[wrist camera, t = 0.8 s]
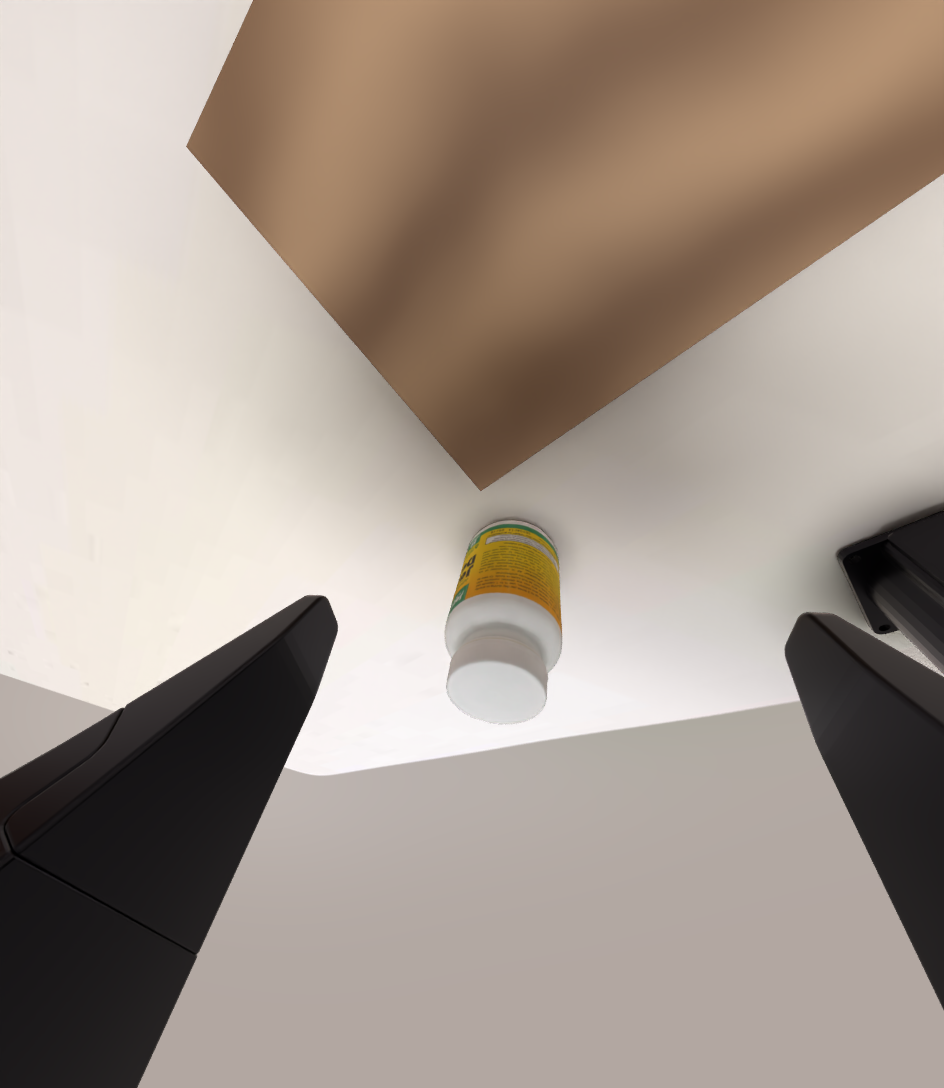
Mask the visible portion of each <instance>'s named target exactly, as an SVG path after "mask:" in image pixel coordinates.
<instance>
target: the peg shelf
mask: <svg viewBox="0 0 944 1088" xmlns="http://www.w3.org/2000/svg"><path fill="white" fill-rule="evenodd" d="M186 147H187V148H188V149H189V150H190V152H191V153H192V154H193V155H194V156H195V157H196V159H197V160H198V161H199V162H200V163H201V164H202V166H203V167H204V168H205V169H206V170H207V171H208V173H209V174H210V175H211V176H212V177H213V178H214V180H215V181H216V182H217V183H218V184H219V185H220V187H221V188H222V189H223V190H224V191H225V193H226V194H227V195H228V196H229V197H230V198H231V200H232V201H233V202H234V203H235V204H236V205H237V207H238V208H239V209H240V210H241V211H242V212H243V214H244V215H245V216H246V217H247V218H248V219H249V221H250V222H251V223H252V224H253V225H254V226H255V228H256V229H257V230H258V231H259V232H260V233H261V235H262V236H263V237H264V238H265V239H266V240H267V242H268V243H269V244H270V245H271V246H272V248H273V249H274V250H275V251H276V252H277V253H278V255H279V256H280V257H281V258H282V259H283V260H284V262H285V263H286V264H287V265H288V266H289V267H290V269H291V270H292V271H293V272H294V273H295V274H296V276H297V277H298V278H299V279H300V280H301V281H302V283H303V284H304V285H305V286H306V287H307V288H308V290H309V291H310V292H311V293H312V294H313V295H314V297H315V298H316V299H317V300H318V301H319V303H320V304H321V305H322V306H323V307H324V308H325V310H326V311H327V312H328V313H329V314H330V315H331V317H332V318H333V319H334V320H335V321H336V322H337V324H338V325H339V326H340V327H341V328H342V329H343V331H344V332H345V333H346V334H347V335H348V336H349V338H350V339H351V340H352V341H353V342H354V343H355V345H356V346H357V347H358V348H359V349H360V350H361V352H362V353H363V354H364V355H365V356H366V357H367V359H368V360H369V361H370V362H371V363H372V365H373V366H374V367H375V368H376V369H377V370H378V372H379V373H380V374H381V375H382V376H383V377H384V379H385V380H386V381H387V382H388V383H389V384H390V386H391V387H392V388H393V389H394V390H395V391H396V393H397V394H398V395H399V396H400V397H401V398H402V400H403V401H404V402H405V403H406V404H407V405H408V407H409V408H410V409H411V410H412V411H413V412H414V414H415V415H416V416H417V417H418V418H419V420H420V421H421V422H422V423H423V424H424V425H425V427H426V428H427V429H428V430H429V431H430V432H431V434H432V435H433V436H434V437H435V438H436V439H437V441H438V442H439V443H440V444H441V445H442V446H443V448H444V449H445V450H446V451H447V452H448V453H449V455H450V456H451V457H452V458H453V459H454V460H455V462H456V463H457V464H458V465H459V466H460V467H461V469H462V470H463V471H464V472H465V473H466V475H467V476H468V477H469V478H470V479H471V480H472V482H473V483H474V484H475V485H476V486H477V487H478V489H479V490H480V491H482V490H483V489H485V488H486V487H488V486H489V485H490V484H492V483H493V482H495V481H496V480H498V479H499V478H501V477H502V476H504V475H505V474H507V473H508V472H509V471H511V470H512V469H514V468H515V467H517V466H518V465H520V464H521V463H523V462H524V461H525V460H527V459H528V458H530V457H531V456H533V455H534V454H536V453H537V452H539V451H540V450H541V449H543V448H544V447H546V446H547V445H549V444H550V443H552V442H553V441H555V440H556V439H557V438H559V437H560V436H562V435H563V434H565V433H566V432H568V431H569V430H571V429H572V428H574V427H575V426H576V425H578V424H579V423H581V422H582V421H584V420H585V419H587V418H588V417H590V416H591V415H592V414H594V413H595V412H597V411H598V410H600V409H601V408H603V407H604V406H606V405H607V404H608V403H610V402H611V401H613V400H614V399H616V398H617V397H619V396H620V395H622V394H623V393H625V392H626V391H627V390H629V389H630V388H632V387H633V386H635V385H636V384H638V383H639V382H641V381H642V380H643V379H645V378H646V377H648V376H649V375H651V374H652V373H654V372H655V371H657V370H658V369H659V368H661V367H662V366H664V365H665V364H667V363H668V362H670V361H671V360H673V359H674V358H676V357H677V356H678V355H680V354H681V353H683V352H684V351H686V350H687V349H689V348H690V347H692V346H693V345H694V344H696V343H697V342H699V341H700V340H702V339H703V338H705V337H706V336H708V335H709V334H710V333H712V332H713V331H715V330H716V329H718V328H719V327H721V326H722V325H724V324H725V323H727V322H728V321H729V320H731V319H732V318H734V317H735V316H737V315H738V314H740V313H741V312H743V311H744V310H745V309H747V308H748V307H750V306H751V305H753V304H754V303H756V302H757V301H759V300H760V299H761V298H763V297H764V296H766V295H767V294H769V293H770V292H772V291H773V290H775V289H776V288H778V287H779V286H780V285H782V284H783V283H785V282H786V281H788V280H789V279H791V278H792V277H794V276H795V275H796V274H798V273H799V272H801V271H802V270H804V269H805V268H807V267H808V266H810V265H811V264H812V263H814V262H815V261H817V260H818V259H820V258H821V257H823V256H824V255H826V254H827V253H829V252H830V251H831V250H833V249H834V248H836V247H837V246H839V245H840V244H842V243H843V242H845V241H846V240H847V239H849V238H850V237H852V236H853V235H855V234H856V233H858V232H859V231H861V230H862V229H863V228H865V227H866V226H868V225H869V224H871V223H872V222H874V221H875V220H877V219H878V218H880V217H881V216H882V215H884V214H885V213H887V212H888V211H890V210H891V209H893V208H894V207H896V206H897V205H898V204H900V203H901V202H903V201H904V200H906V199H907V198H909V197H910V196H912V195H913V194H914V193H916V192H917V191H919V190H920V189H922V188H923V187H925V186H926V185H928V184H929V183H931V182H932V181H933V180H935V179H936V178H938V177H939V176H941V175H942V174H944V0H253V2H252V4H251V6H250V9H249V11H248V13H247V15H246V17H245V19H244V22H243V24H242V26H241V28H240V30H239V33H238V35H237V37H236V39H235V41H234V43H233V46H232V48H231V50H230V52H229V54H228V57H227V59H226V61H225V63H224V65H223V67H222V70H221V72H220V74H219V76H218V78H217V81H216V83H215V85H214V87H213V89H212V91H211V94H210V96H209V98H208V100H207V102H206V105H205V107H204V109H203V111H202V113H201V115H200V118H199V120H198V122H197V124H196V126H195V129H194V131H193V133H192V135H191V137H190V139H189V142H188V144H187V146H186Z"/></svg>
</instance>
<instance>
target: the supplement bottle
mask: <svg viewBox="0 0 944 1088" xmlns="http://www.w3.org/2000/svg"><path fill="white" fill-rule="evenodd" d="M445 644H446V647H447V650H448V652H449V654H450V656H451V658H452V659H451V662H450V668H449V673H448V678H447V685H446V688H447V693H448V696H449V698H450V700H451V701H452V703H453V704H454V705H455V706H456V707H457V708H458V709H459V710H461V711H462V712H463V713H465V714H467V715H469V716H470V717H472V718H475V719H478V720H481V721H485V722H488V723H494V724H515V723H521V722H525V721H528V720H530V719H532V718H534V717H535V716H536V715H538V714H539V713H540V712H541V711H542V709H543V708H544V706H545V703H546V699H547V681H548V673H549V672H550V671H551V670H552V668H553V667H554V666H555V664H556V663H557V661H558V659H559V657H560V654H561V649H562V624H561V605H560V581H559V560H558V554H557V550H556V548H555V546H554V544H553V542H552V541H551V540H550V538H549V537H548V536H547V535H546V534H545V533H544V532H543V531H542V530H540V529H539V528H537V527H536V526H533V525H531V524H529V523H526V522H522V521H515V520H506V521H500V522H495V523H493V524H490V525H488V526H487V527H485V528H483V529H482V530H481V531H479V532H478V533H477V534H476V535H475V536H474V537H473V539H472V540H471V542H470V544H469V547H468V550H467V553H466V557H465V560H464V564H463V567H462V571H461V574H460V578H459V581H458V584H457V588H456V591H455V594H454V598H453V601H452V605H451V608H450V611H449V615H448V618H447V622H446V626H445Z"/></svg>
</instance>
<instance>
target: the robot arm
mask: <svg viewBox="0 0 944 1088" xmlns="http://www.w3.org/2000/svg"><path fill="white" fill-rule="evenodd" d="M852 556H854V557H853V558H851V557H852ZM850 558H851V559H850ZM838 561H839V563H840V565H841V567H842V569H843V572H844V574H845V576H846V578H847V580H848V582H849V585H850V587H851V589H852V591H853V593H854V595H855V598H856V600H857V602H858V604H859V606H860V608H861V610H862V613H863V615H864V617H865V619H866V621H867V623H868V626H869V627H870V628H871V629H872V630H873V631H874V632H875V633H877V634H887V633H890V632H894V631H897V630H900V631H901V632H902V633H903V634H904V635H905V636H906V637H907V638H908V639H909V640H910V641H911V642H912V643H913V644H914V645H915V646H916V647H917V648H918V649H919V650H920V651H921V652H922V653H923V654H924V655H925V656H926V657H927V658H928V659H929V660H930V661H931V662H932V663H933V664H934V665H935V666H936V667H937V668H938V669H939V670H940V671H941V672H942V673H943V674H944V511H942V512H939V513H937V514H934V515H931V516H929V517H926V518H924V519H921V520H918V521H916V522H913V523H911V524H908V525H905V526H903V527H900V528H898V529H895V530H893V531H890V532H887V533H885V534H882V535H880V536H877V537H874V538H872V539H869V540H867V541H864V542H861V543H859V544H856V545H854V546H851V547H848V548H846V549H844V550H842V551H841V552H840V553H839V555H838ZM337 631H338V624H337V620H336V618H335V615H334V613H333V610H332V608H331V605H330V603H329V600H328V599H327V598H326V597H325V596H322V595H307V596H304V597H303V598H301V599H299V600H298V601H296V602H294V603H293V604H291V605H289V606H288V607H286V608H285V609H283V610H281V611H280V612H278V613H276V614H275V615H273V616H271V617H270V618H268V619H266V620H265V621H263V622H262V623H260V624H258V625H257V626H255V627H253V628H252V629H250V630H248V631H247V632H245V633H243V634H242V635H240V636H239V637H237V638H235V639H234V640H232V641H230V642H229V643H227V644H225V645H224V646H222V647H221V648H219V649H217V650H216V651H214V652H212V653H211V654H209V655H207V656H206V657H204V658H202V659H201V660H199V661H198V662H196V663H194V664H193V665H191V666H189V667H188V668H186V669H184V670H183V671H181V672H179V673H178V674H176V675H175V676H173V677H171V678H170V679H168V680H166V681H165V682H163V683H161V684H160V685H158V686H157V687H155V688H153V689H152V690H150V691H148V692H147V693H145V694H143V695H142V696H140V697H138V698H137V699H135V700H134V701H132V702H130V703H129V704H127V705H126V707H125V708H120V709H119V710H117V711H115V712H114V713H112V714H110V715H109V716H107V717H106V718H104V719H102V720H101V721H99V722H98V723H96V724H94V725H92V726H91V727H89V728H87V729H86V730H84V731H82V732H81V733H79V734H77V735H76V736H74V737H72V738H70V739H69V740H67V741H66V742H64V743H62V744H60V745H59V746H57V747H55V748H53V749H51V750H50V751H48V752H46V753H44V754H43V755H41V756H39V757H37V758H35V759H34V760H32V761H30V762H28V763H27V764H25V765H23V766H21V767H19V768H18V769H16V770H14V771H13V772H11V773H9V774H7V775H5V776H3V777H2V778H0V1088H137V1087H138V1085H139V1083H140V1081H141V1078H142V1076H143V1074H144V1072H145V1070H146V1067H147V1065H148V1063H149V1061H150V1059H151V1057H152V1054H153V1052H154V1050H155V1048H156V1046H157V1043H158V1041H159V1039H160V1037H161V1035H162V1033H163V1030H164V1028H165V1026H166V1024H167V1022H168V1019H169V1017H170V1015H171V1013H172V1011H173V1009H174V1006H175V1004H176V1002H177V1000H178V998H179V995H180V993H181V991H182V989H183V987H184V984H185V982H186V980H187V978H188V976H189V974H190V971H191V969H192V967H193V965H194V963H195V960H196V958H197V953H198V952H199V951H200V949H201V947H202V944H203V942H204V940H205V938H206V936H207V933H208V931H209V929H210V927H211V925H212V922H213V920H214V918H215V916H216V913H217V911H218V909H219V907H220V905H221V903H222V900H223V898H224V896H225V894H226V892H227V890H228V888H229V885H230V883H231V881H232V879H233V877H234V874H235V872H236V870H237V868H238V865H239V863H240V861H241V859H242V857H243V855H244V852H245V850H246V848H247V846H248V843H249V841H250V839H251V837H252V835H253V833H254V831H255V828H256V826H257V824H258V822H259V819H260V818H261V815H262V813H263V811H264V809H265V806H266V804H267V802H268V800H269V798H270V795H271V793H272V791H273V789H274V787H275V785H276V782H277V780H278V778H279V776H280V774H281V772H282V769H283V767H284V765H285V763H286V761H287V758H288V756H289V754H290V752H291V750H292V748H293V745H294V743H295V741H296V739H297V737H298V734H299V732H300V730H301V728H302V726H303V723H304V721H305V719H306V717H307V715H308V713H309V710H310V708H311V706H312V703H313V701H314V699H315V696H316V694H317V691H318V688H319V685H320V683H321V680H322V677H323V674H324V671H325V668H326V665H327V662H328V659H329V656H330V653H331V650H332V647H333V644H334V641H335V638H336V635H337ZM785 657H786V661H787V664H788V666H789V669H790V672H791V675H792V678H793V681H794V683H795V686H796V689H797V692H798V695H799V698H800V701H801V703H802V706H803V709H804V712H805V715H806V717H807V721H808V723H809V726H810V728H811V732H812V734H813V737H814V739H815V742H816V744H817V746H818V749H819V751H820V753H821V755H822V757H823V760H824V761H825V764H826V766H827V768H828V770H829V772H830V774H831V776H832V778H833V780H834V783H835V784H836V787H837V789H838V791H839V793H840V795H841V797H842V799H843V801H844V803H845V805H846V807H847V809H848V812H849V814H850V816H851V818H852V820H853V822H854V824H855V826H856V828H857V830H858V833H859V835H860V837H861V839H862V841H863V843H864V845H865V847H866V849H867V851H868V853H869V855H870V858H871V860H872V862H873V864H874V866H875V868H876V870H877V872H878V874H879V876H880V878H881V880H882V882H883V885H884V887H885V889H886V891H887V893H888V895H889V897H890V899H891V901H892V903H893V905H894V908H895V910H896V912H897V914H898V916H899V918H900V920H901V922H902V924H903V926H904V928H905V930H906V932H907V935H908V937H909V939H910V941H911V943H912V945H913V947H914V949H915V951H916V953H917V955H918V957H919V960H920V962H921V964H922V966H923V968H924V970H925V972H926V974H927V976H928V978H929V980H930V982H931V985H932V986H933V989H934V990H935V993H936V995H937V997H938V999H939V1001H940V1003H941V1005H942V1007H943V1010H944V677H943V676H941V675H939V674H938V673H936V672H934V671H932V670H931V669H929V668H927V667H925V666H924V665H922V664H920V663H918V662H917V661H915V660H913V659H912V658H910V657H908V656H906V655H905V654H903V653H901V652H899V651H898V650H896V649H894V648H892V647H891V646H889V645H887V644H885V643H884V642H882V641H880V640H878V639H877V638H875V637H873V636H871V635H870V634H868V633H866V632H864V631H863V630H861V629H859V628H857V627H856V626H854V625H852V624H851V623H849V622H847V621H845V620H844V619H842V618H840V617H838V616H836V615H834V614H831V613H816V612H806V613H803V614H801V615H800V616H799V617H798V619H797V621H796V623H795V625H794V628H793V630H792V632H791V634H790V636H789V638H788V640H787V642H786V645H785Z"/></svg>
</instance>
